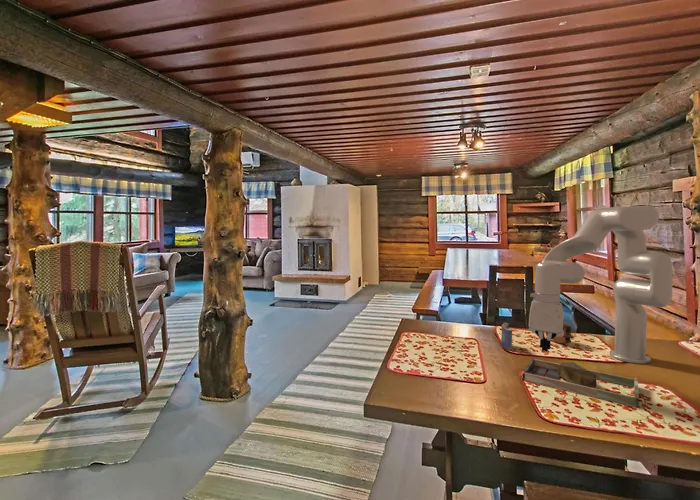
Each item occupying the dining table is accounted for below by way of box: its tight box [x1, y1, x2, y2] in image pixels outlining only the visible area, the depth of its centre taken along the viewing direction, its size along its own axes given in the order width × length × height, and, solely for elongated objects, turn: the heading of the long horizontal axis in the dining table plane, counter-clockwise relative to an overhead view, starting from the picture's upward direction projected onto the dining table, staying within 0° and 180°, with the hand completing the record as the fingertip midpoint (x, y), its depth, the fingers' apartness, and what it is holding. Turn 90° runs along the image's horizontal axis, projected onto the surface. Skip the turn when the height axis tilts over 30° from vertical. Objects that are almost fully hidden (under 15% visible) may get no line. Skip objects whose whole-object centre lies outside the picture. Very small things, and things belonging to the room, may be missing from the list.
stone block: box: [558, 361, 598, 389], centre depth 115 cm, size 6×12×5 cm, turn 6°
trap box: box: [521, 358, 640, 408], centre depth 115 cm, size 16×31×3 cm, turn 51°
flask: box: [500, 322, 513, 351], centre depth 151 cm, size 9×3×11 cm, turn 172°
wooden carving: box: [545, 320, 575, 345], centre depth 156 cm, size 16×5×10 cm, turn 10°
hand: (545, 350), depth 120 cm, fingers closed
